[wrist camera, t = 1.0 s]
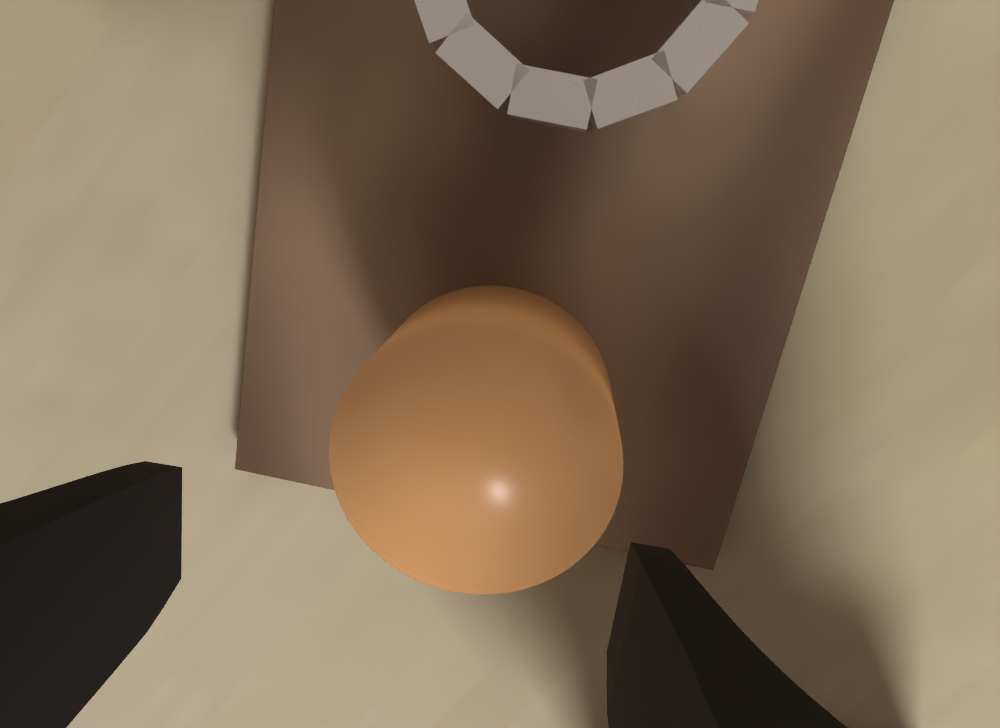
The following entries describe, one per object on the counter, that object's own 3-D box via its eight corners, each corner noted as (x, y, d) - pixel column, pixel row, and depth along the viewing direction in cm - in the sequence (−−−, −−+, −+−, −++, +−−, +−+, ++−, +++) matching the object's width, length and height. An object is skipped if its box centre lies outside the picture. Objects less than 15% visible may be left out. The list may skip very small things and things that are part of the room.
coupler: (627, 292, 19) (656, 357, 13) (580, 486, 20) (586, 620, 14) (414, 249, 19) (347, 294, 13) (384, 445, 20) (314, 561, 15)
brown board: (960, -254, 15) (981, -275, 15) (707, 554, 21) (713, 570, 21) (320, -368, 16) (308, -393, 15) (246, 457, 22) (235, 469, 21)
